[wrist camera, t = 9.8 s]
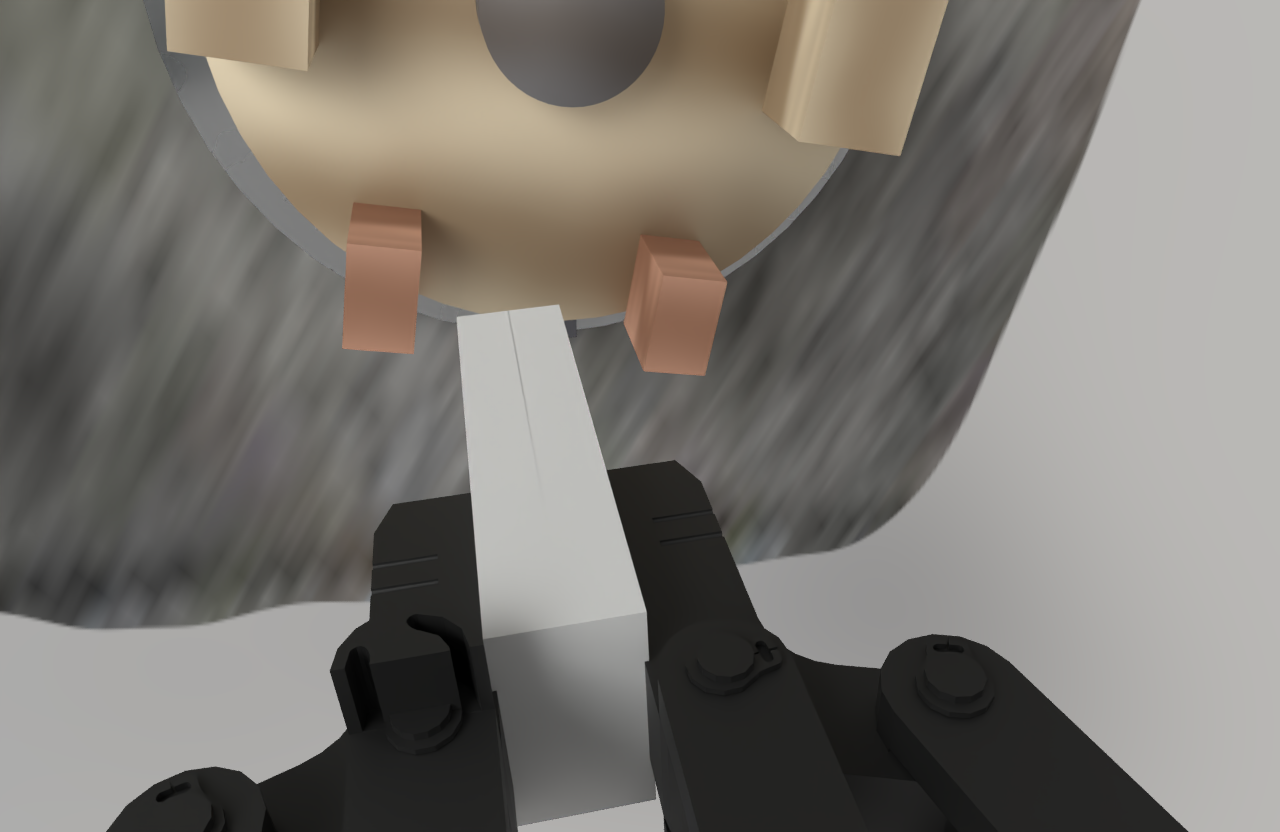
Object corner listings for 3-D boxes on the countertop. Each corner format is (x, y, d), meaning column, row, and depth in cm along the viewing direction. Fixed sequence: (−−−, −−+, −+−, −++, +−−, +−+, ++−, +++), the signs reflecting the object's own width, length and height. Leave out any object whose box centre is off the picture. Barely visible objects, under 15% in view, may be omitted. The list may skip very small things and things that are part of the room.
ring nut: (191, -541, 23) (123, -653, 18) (942, -324, 28) (1068, -361, 23) (212, 256, 33) (172, 342, 27) (772, 309, 38) (832, 391, 32)
